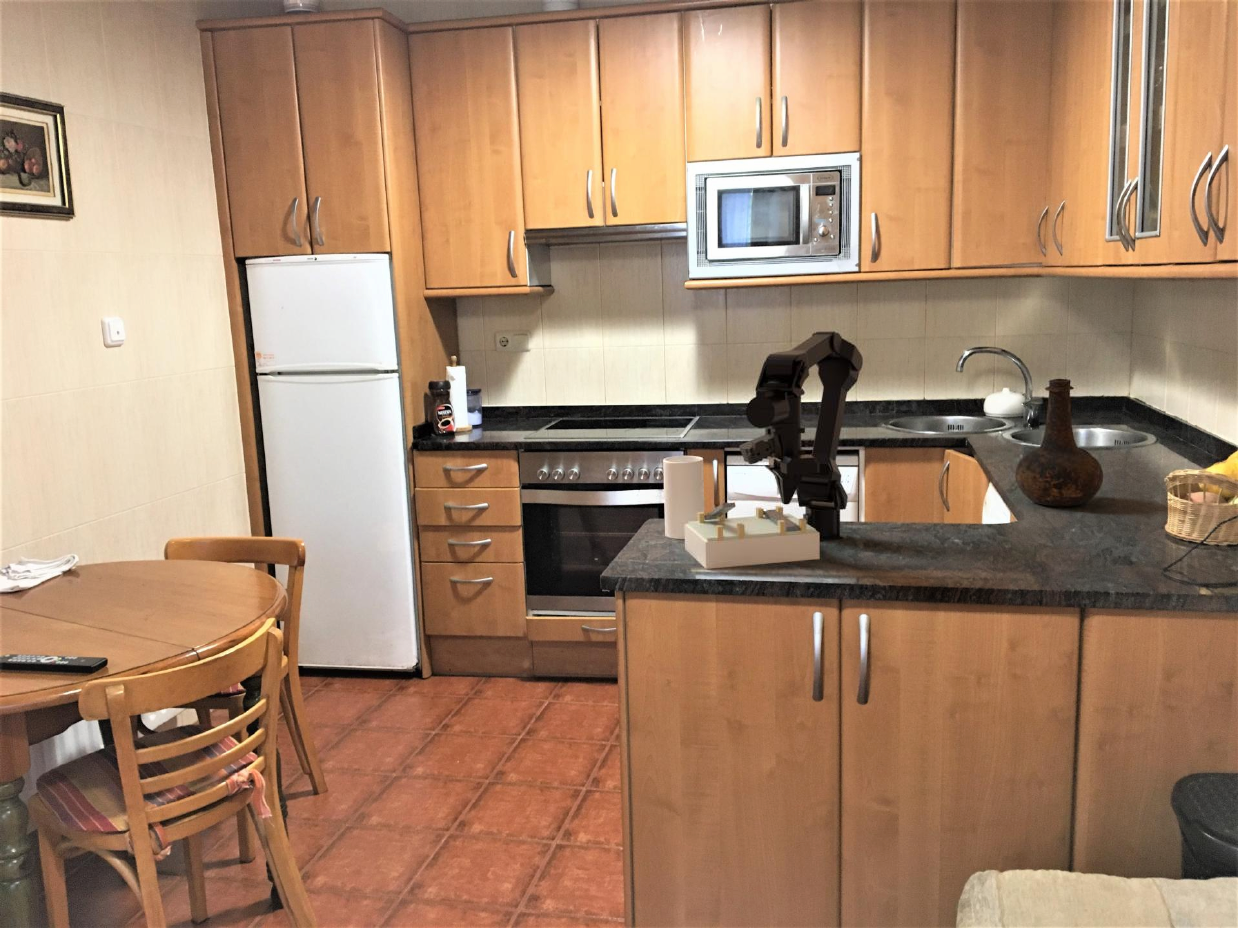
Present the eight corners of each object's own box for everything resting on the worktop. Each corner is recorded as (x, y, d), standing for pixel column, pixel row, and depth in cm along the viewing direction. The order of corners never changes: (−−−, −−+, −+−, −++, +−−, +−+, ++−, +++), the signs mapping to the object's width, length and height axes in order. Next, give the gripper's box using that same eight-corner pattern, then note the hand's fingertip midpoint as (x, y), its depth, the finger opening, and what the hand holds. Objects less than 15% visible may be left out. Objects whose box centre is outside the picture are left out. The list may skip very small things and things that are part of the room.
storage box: (790, 539, 204) (790, 503, 203) (819, 558, 190) (819, 519, 189) (685, 548, 200) (684, 511, 199) (706, 568, 186) (705, 528, 185)
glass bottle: (1119, 506, 224) (1126, 379, 219) (1056, 515, 218) (1062, 385, 213) (1057, 492, 240) (1062, 374, 236) (997, 500, 234) (1001, 379, 229)
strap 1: (704, 520, 199) (704, 515, 199) (716, 519, 199) (715, 514, 200) (723, 508, 186) (722, 502, 186) (735, 507, 186) (734, 501, 187)
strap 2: (762, 514, 201) (762, 509, 201) (774, 513, 202) (774, 508, 202) (786, 531, 188) (786, 526, 188) (799, 530, 189) (799, 525, 189)
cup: (672, 540, 207) (670, 463, 204) (660, 531, 215) (658, 457, 212) (710, 536, 209) (708, 460, 206) (696, 528, 217) (695, 454, 214)
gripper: (728, 418, 196) (729, 497, 198) (760, 430, 178) (761, 517, 180) (783, 415, 198) (784, 493, 200) (820, 426, 180) (820, 512, 182)
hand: (785, 503), depth 191 cm, fingers closed
